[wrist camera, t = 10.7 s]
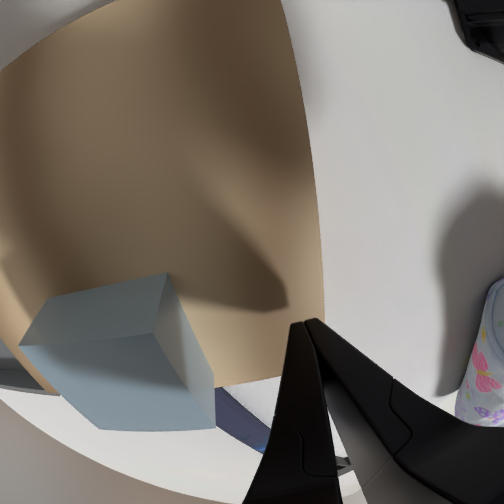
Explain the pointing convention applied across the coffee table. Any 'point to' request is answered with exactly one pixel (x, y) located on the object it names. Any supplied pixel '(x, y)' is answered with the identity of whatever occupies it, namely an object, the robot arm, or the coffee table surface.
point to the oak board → (164, 174)
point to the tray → (17, 374)
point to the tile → (124, 357)
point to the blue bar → (251, 426)
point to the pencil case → (485, 367)
